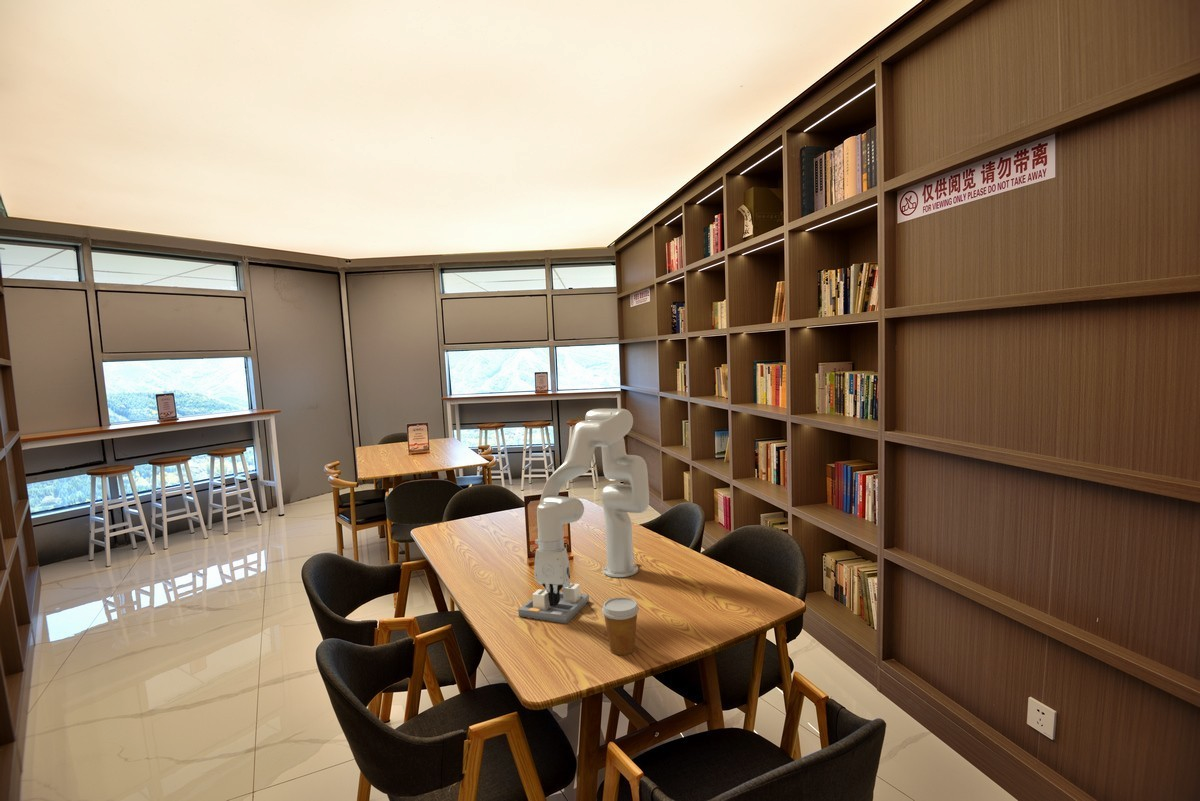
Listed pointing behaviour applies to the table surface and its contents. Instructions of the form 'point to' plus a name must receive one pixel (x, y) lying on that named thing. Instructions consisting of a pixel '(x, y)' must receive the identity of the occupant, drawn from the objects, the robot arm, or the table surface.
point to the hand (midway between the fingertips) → (554, 604)
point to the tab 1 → (541, 599)
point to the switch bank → (554, 610)
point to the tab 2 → (571, 593)
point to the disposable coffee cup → (621, 624)
